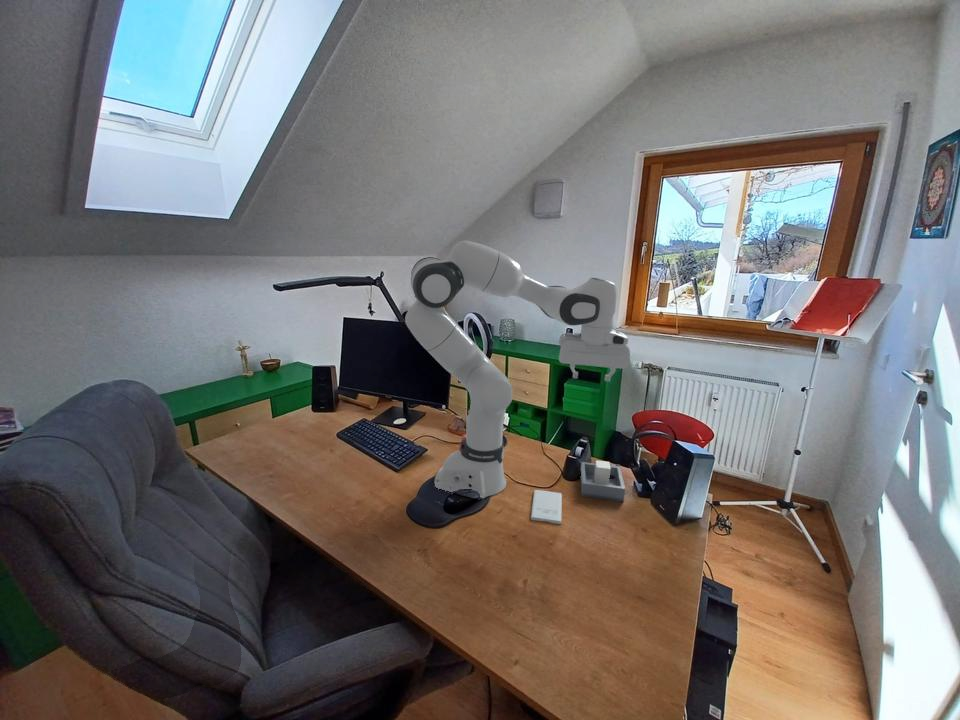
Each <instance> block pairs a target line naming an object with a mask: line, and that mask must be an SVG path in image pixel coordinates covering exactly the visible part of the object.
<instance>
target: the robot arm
mask: <svg viewBox="0 0 960 720" xmlns="http://www.w3.org/2000/svg"><path fill="white" fill-rule="evenodd" d="M410 286H411V289H412V291H413V294H414V298H415V302H414V303H413V304H412V305H411V306H410V307H409V309H408V310H407V312H406V314H405V317H404V319H405V320H404V321H405V325H406V327H407V328H408V330H409V332H410V333H411V334H412V336H413V337H414V338H415V340H416V341H417V342H418V343H419V344H420V345H421V347H423V349H425V351H427V352H428V353H429V355H431V356H432V358H434V360H435V361H437V363H439V365H440V366H442V368H443V369H445V371H446V372H448V373H449V374H450V375H452V376H453V377H454V378H455V379H456V380H457V381H459V382H460V383H461V384H462V386H464V388H465V389H466V390H467V392H468V394H469V397H470V399H469V400H470V407H469V412H468V415H467V416H466V419H465V423H466V424H465V425H466V426H465V427H466V428H465V429H466V430H465V433H464V434H463V435H462V437H461V438H460V439H461V441H460V443H459V446H458V447H459V448H458V450H455V451H454V452H453V453H450V454H449V455H448V456H447V458H445V461H444V463H443V466H442V467H440V468H439V470H438V471H437V473H436V475H435V477H434V482H433V483H434V484H435V485H434V488H435V487H436V488H438V489H437V490H439V489H442V490H445V491H444V492H446V491H449V492H453V491H457V490H459V489H472V490H474V491H477V492H478V493H479V494H480V497H481V498H483V499H485V498H487V497H490V496H494V495H496V494H499V493H501V492H502V491H503V490H504V489H505V488H506V486H507V479H506V476H505V472H504V471H505V470H504V463H503V461H504V455H505V446H504V440H503V436H504V435H503V433H504V418H505V413H506V411H507V408H508V407H509V406H510V404H511V403H512V400H513V397H514V390H513V388H512V385H511V382H510V381H509V379H508V377H507V376H506V375H505V374H504V373H503V372H502V371H501V370H500V369H499V368H498V367H497V366H496V365H495V364H494V363H493V362H492V361H491V360H490V358H489V357H487V355H486V354H485V353H484V352H483V351H482V349H480V348H479V346H478V345H477V344H476V343H475V342H474V341H473V340H472V338H471V337H470V336H469V335H468V334H467V333H466V332H465V330H463V328H462V327H461V326H460V325H459V324H458V323H457V322H456V321H455V320H454V318H452V317H451V315H449V313H448V312H447V310H446V309H445V306H447V305H449V304H450V303H451V301H453V300H454V299H455V297H456V296H457V295H458V293H459V292H460V291H461V290H462V289H463V288H464V286H469V287H473V288H474V289H477V290H479V291H482V292H484V293H486V294H489V295H492V296H496V297H501V298H509V297H510V296H514V297H518V298H520V299H523V300H525V301H527V302H530V303H531V304H534V305H536V306H537V307H538V308H539V309H540V310H541V311H542V312H543V314H544V315H546V316H547V317H548V318H550V319H553V320H556V321H558V322H561V323H563V324H565V325H568V326H581V329H580V333H578V332H577V333H576V332H574V333H570V332H565V333H562V334H560V336H559V342H558V343H559V347H560V350H559V354H558V355H559V356H558V361H559V362H560V363H561V364H566V365H568V364H569V368H570V370H571V372H572V379H579V377H578V376H579V371H576V370H575V368H576V365H577V366H588V367H600V368H609V373H607V374H605V375H604V381H605V382H611V378H612V376H613V375H614V374H615V373H616V370H617V369H622V370H626V369H628V367H630V364H631V363H630V362H631V353H630V352H631V351H630V348H629V346H628V343H629V338H628V336H627V334H625V333H623V332H621V331H618V330H615V329H614V316H615V315H614V314H615V312H616V308H617V306H616V305H617V297H618V296H617V286H616V284H615V283H614V282H613V281H611V280H607V279H603V278H602V279H601V278H597V277H590V278H589V279H588V280H587V281H586V282H584V283H583V284H581V285H579V286H577V287H574V288H572V289H571V288H568V287H564V286H562V285H545V284H543V283H541V282H539V281H538V280H536V279H533V278H531V277H529V276H527V275H526V274H524V273H523V270H522V267H521V265H520V263H519V262H517V261H516V260H515V259H513V258H512V257H510V256H509V255H507V254H506V253H504V252H502V251H500V250H497V249H495V248H493V247H490V246H488V245H485V244H482V243H478V242H474V241H470V240H465V239H464V240H460V241H459V242H457V243H456V244H455V245H453V247H452V248H451V250H450V251H449V254H448V256H447V257H446V258H444V259H442V260H441V258H437V257H432V256H427V257H424V258H421V259H420V260H418V261H417V262H416V263H415V264H414V265H413V268H412V269H411V273H410ZM436 488H435V489H436ZM442 490H441V491H442ZM449 492H448V493H449Z"/></svg>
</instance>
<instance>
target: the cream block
mask: <svg viewBox="0 0 960 720" xmlns="http://www.w3.org/2000/svg"><path fill="white" fill-rule="evenodd" d="M610 465H611V464H610V461H605V460H604V461H603V460H595V473H594V483H599V484H607V485H609V478H610V470H611V468H610Z"/></svg>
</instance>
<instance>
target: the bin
mask: <svg viewBox="0 0 960 720" xmlns="http://www.w3.org/2000/svg"><path fill="white" fill-rule="evenodd" d="M581 462H582V463H580V471H581V476H580V475H579V477H580V495H581V497H583V498H584V497H585V498H592V499H600V500H606V501H612V502H619V503H620V502H621V503H624V501H625V494H626V486H625V482H624V478H623V473H622V469H621V466H617V465H611V464H610V468H611V470H610V475H613V476H615V477H616V478H614V479H609V485H607V484H599V483H594V473H595V464H596V462H595V463H593V462H585V461H581Z"/></svg>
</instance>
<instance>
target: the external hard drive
mask: <svg viewBox="0 0 960 720" xmlns="http://www.w3.org/2000/svg"><path fill="white" fill-rule="evenodd" d="M562 501H563V494H562V493H561V492H556V491H547V490H541V489H534V490H533V497H532V504H531V506H532V507H531V514H530V520H531V521H539V522H548V523H550V524H557V525H561V524H562V514H563V513H562V512H563V511H562V509H563V508H562V507H563V506H562V503H563V502H562Z"/></svg>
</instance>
